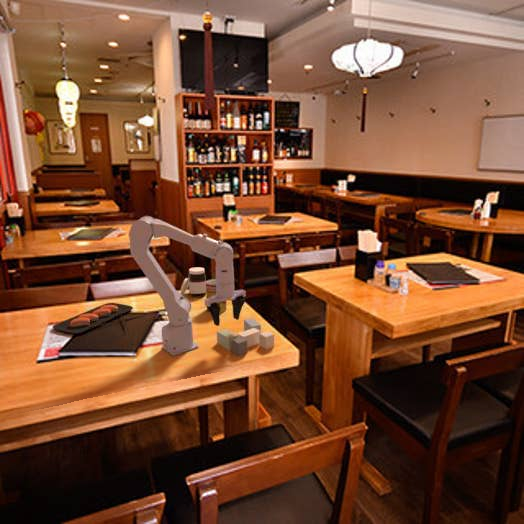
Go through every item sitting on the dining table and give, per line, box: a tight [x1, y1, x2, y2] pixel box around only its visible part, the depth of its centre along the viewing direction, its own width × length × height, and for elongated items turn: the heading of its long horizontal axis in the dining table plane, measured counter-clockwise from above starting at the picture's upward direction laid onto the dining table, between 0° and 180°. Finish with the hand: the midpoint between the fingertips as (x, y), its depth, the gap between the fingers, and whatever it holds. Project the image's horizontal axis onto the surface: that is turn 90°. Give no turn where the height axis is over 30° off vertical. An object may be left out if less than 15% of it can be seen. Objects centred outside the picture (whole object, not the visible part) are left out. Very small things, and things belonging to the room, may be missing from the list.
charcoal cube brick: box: [232, 337, 248, 357], centre depth 130 cm, size 3×3×4 cm
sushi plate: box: [52, 302, 150, 338], centre depth 156 cm, size 29×30×4 cm
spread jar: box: [180, 266, 207, 298], centre depth 186 cm, size 12×11×12 cm
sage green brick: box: [216, 328, 237, 351], centre depth 136 cm, size 7×3×4 cm, turn 39°
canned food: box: [205, 278, 228, 314], centre depth 166 cm, size 8×8×12 cm
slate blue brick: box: [243, 317, 262, 333], centre depth 145 cm, size 7×3×4 cm, turn 24°
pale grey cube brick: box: [259, 330, 275, 350], centre depth 135 cm, size 3×3×4 cm
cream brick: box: [236, 328, 260, 349], centre depth 136 cm, size 7×3×4 cm, turn 129°
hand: (226, 321), depth 134 cm, fingers open, 7 cm apart
